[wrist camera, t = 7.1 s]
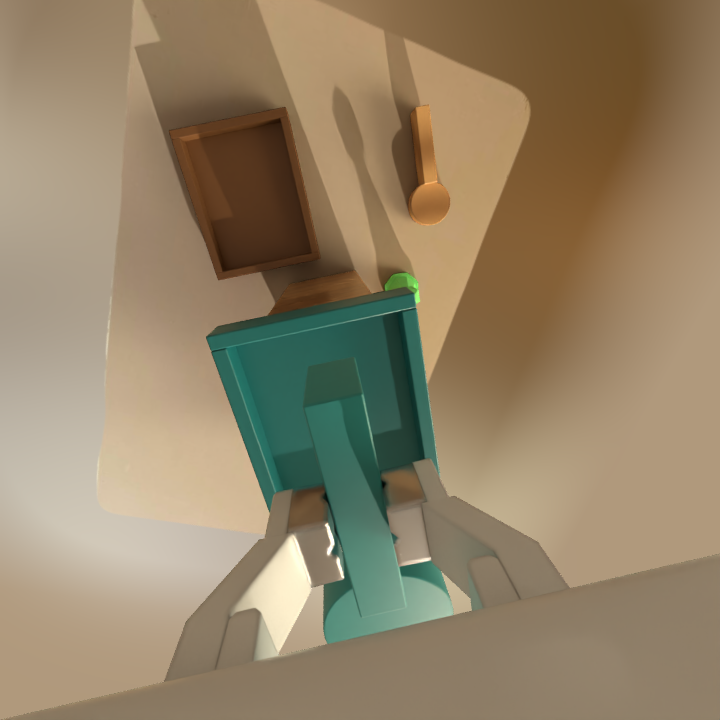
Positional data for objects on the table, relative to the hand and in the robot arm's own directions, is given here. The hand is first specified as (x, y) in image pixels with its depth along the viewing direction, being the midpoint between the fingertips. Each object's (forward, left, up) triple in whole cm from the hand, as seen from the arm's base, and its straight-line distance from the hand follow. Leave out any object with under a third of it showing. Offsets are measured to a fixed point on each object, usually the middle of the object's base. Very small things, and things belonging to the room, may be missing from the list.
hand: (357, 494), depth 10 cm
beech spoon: (-11, +13, -36) cm, 39 cm away
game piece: (+1, +8, -36) cm, 37 cm away
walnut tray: (-12, -6, -36) cm, 38 cm away
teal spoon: (+2, 0, -2) cm, 3 cm away
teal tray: (+4, -1, -12) cm, 12 cm away
